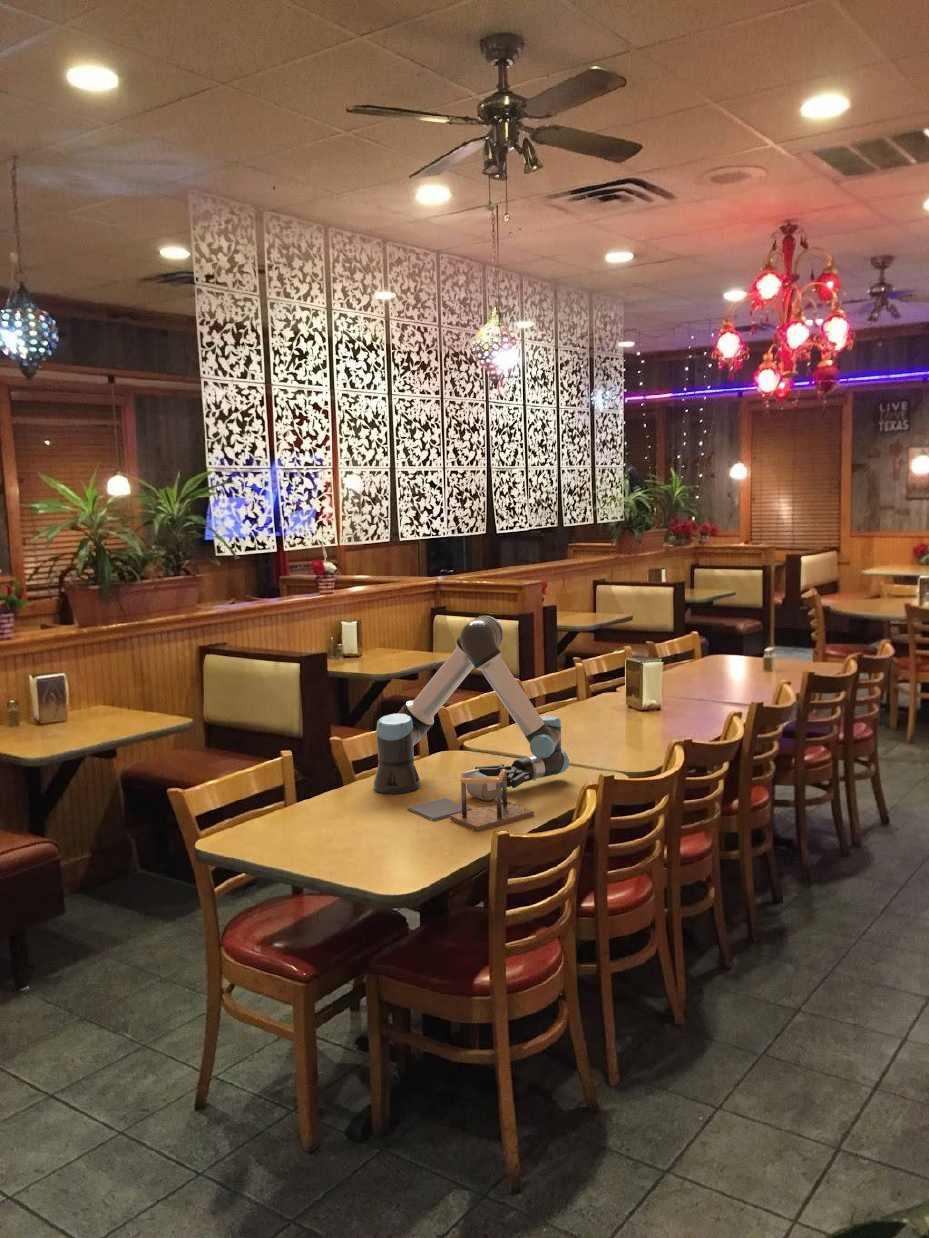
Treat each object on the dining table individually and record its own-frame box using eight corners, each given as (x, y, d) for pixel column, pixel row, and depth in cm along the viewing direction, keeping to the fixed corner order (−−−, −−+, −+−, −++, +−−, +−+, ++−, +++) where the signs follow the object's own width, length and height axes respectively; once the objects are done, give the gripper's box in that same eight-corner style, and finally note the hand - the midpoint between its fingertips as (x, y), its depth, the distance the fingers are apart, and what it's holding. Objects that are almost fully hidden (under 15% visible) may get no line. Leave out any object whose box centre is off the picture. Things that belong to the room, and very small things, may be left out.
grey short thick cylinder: (482, 804, 306) (482, 779, 305) (466, 798, 312) (465, 774, 311) (508, 797, 312) (508, 773, 311) (491, 791, 319) (491, 768, 318)
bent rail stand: (450, 820, 291) (448, 777, 289) (506, 805, 303) (505, 764, 302) (476, 831, 281) (475, 787, 279) (533, 816, 293) (533, 773, 291)
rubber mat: (407, 809, 302) (407, 807, 302) (445, 800, 311) (445, 797, 310) (433, 820, 291) (433, 818, 291) (471, 810, 299) (471, 808, 299)
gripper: (553, 788, 312) (499, 802, 300) (503, 772, 332) (452, 784, 320) (552, 765, 311) (499, 778, 299) (503, 750, 331) (451, 762, 319)
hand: (474, 781), depth 309 cm, fingers open, 13 cm apart
